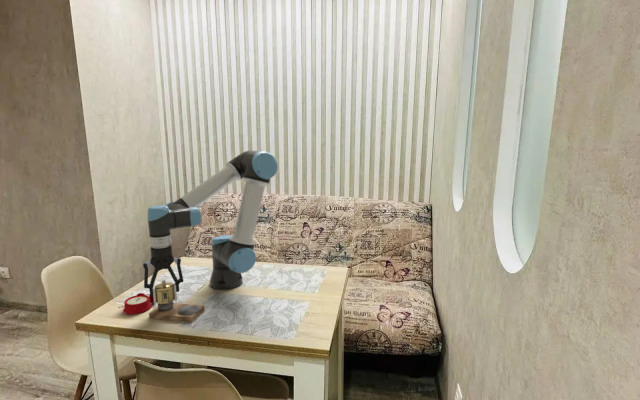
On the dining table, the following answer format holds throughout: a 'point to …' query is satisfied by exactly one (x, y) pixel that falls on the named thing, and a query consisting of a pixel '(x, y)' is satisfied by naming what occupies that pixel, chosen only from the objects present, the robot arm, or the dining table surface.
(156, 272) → the robot arm
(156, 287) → the cap
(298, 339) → the dining table surface
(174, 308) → the post plinth
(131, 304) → the alarm clock
